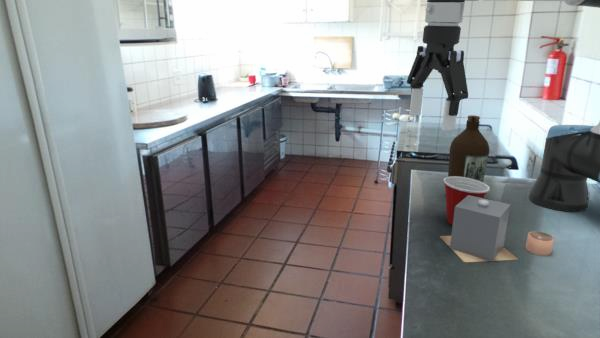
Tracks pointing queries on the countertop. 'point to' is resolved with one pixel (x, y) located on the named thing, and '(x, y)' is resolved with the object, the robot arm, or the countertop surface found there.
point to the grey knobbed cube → (479, 227)
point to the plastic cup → (461, 192)
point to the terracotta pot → (539, 243)
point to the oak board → (465, 257)
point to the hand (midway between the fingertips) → (430, 122)
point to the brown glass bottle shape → (469, 152)
